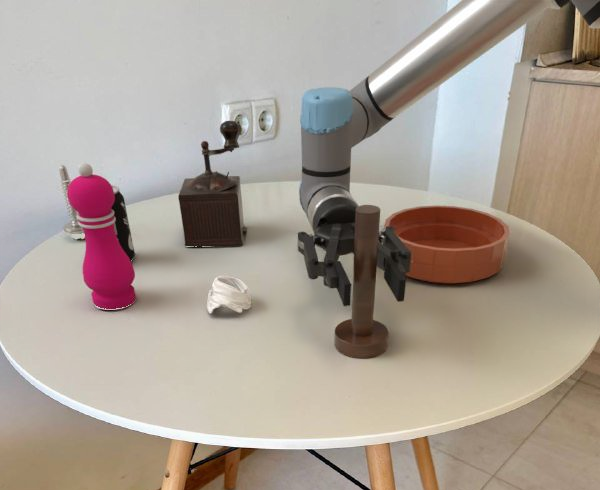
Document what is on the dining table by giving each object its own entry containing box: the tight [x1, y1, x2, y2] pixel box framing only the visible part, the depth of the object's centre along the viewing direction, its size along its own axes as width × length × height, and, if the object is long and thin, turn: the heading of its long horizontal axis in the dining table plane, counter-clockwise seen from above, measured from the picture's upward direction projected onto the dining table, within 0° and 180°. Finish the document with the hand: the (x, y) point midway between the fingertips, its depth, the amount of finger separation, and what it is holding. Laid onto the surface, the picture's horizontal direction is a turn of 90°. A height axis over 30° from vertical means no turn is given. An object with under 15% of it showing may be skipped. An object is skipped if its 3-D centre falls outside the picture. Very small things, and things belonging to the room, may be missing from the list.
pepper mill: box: [67, 162, 137, 309], centre depth 83 cm, size 7×7×20 cm
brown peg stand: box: [333, 204, 390, 359], centre depth 73 cm, size 7×7×18 cm
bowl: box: [383, 205, 511, 284], centre depth 97 cm, size 20×20×6 cm
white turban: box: [206, 275, 252, 315], centre depth 86 cm, size 8×7×5 cm
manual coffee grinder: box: [178, 120, 248, 248], centre depth 106 cm, size 16×11×18 cm
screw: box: [58, 164, 84, 235], centre depth 106 cm, size 13×5×5 cm
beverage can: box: [111, 184, 136, 262], centre depth 97 cm, size 7×7×12 cm
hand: (374, 292), depth 68 cm, fingers open, 6 cm apart
